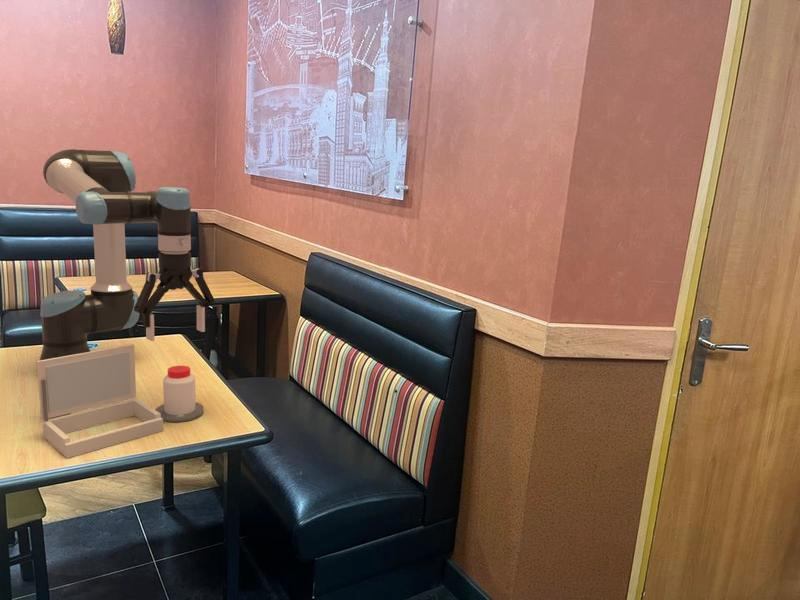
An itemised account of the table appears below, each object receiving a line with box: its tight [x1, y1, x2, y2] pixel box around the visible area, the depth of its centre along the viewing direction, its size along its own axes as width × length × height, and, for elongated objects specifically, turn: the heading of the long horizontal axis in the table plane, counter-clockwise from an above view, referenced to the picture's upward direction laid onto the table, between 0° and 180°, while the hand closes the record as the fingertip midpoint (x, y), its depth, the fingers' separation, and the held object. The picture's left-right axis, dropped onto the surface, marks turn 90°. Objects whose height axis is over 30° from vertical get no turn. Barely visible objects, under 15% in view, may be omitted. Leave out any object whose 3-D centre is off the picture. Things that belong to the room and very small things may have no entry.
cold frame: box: [36, 343, 164, 459], centre depth 147 cm, size 15×22×18 cm
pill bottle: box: [162, 365, 197, 415], centre depth 161 cm, size 8×8×11 cm
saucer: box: [154, 402, 205, 424], centre depth 163 cm, size 12×12×1 cm
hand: (176, 335), depth 159 cm, fingers open, 13 cm apart
